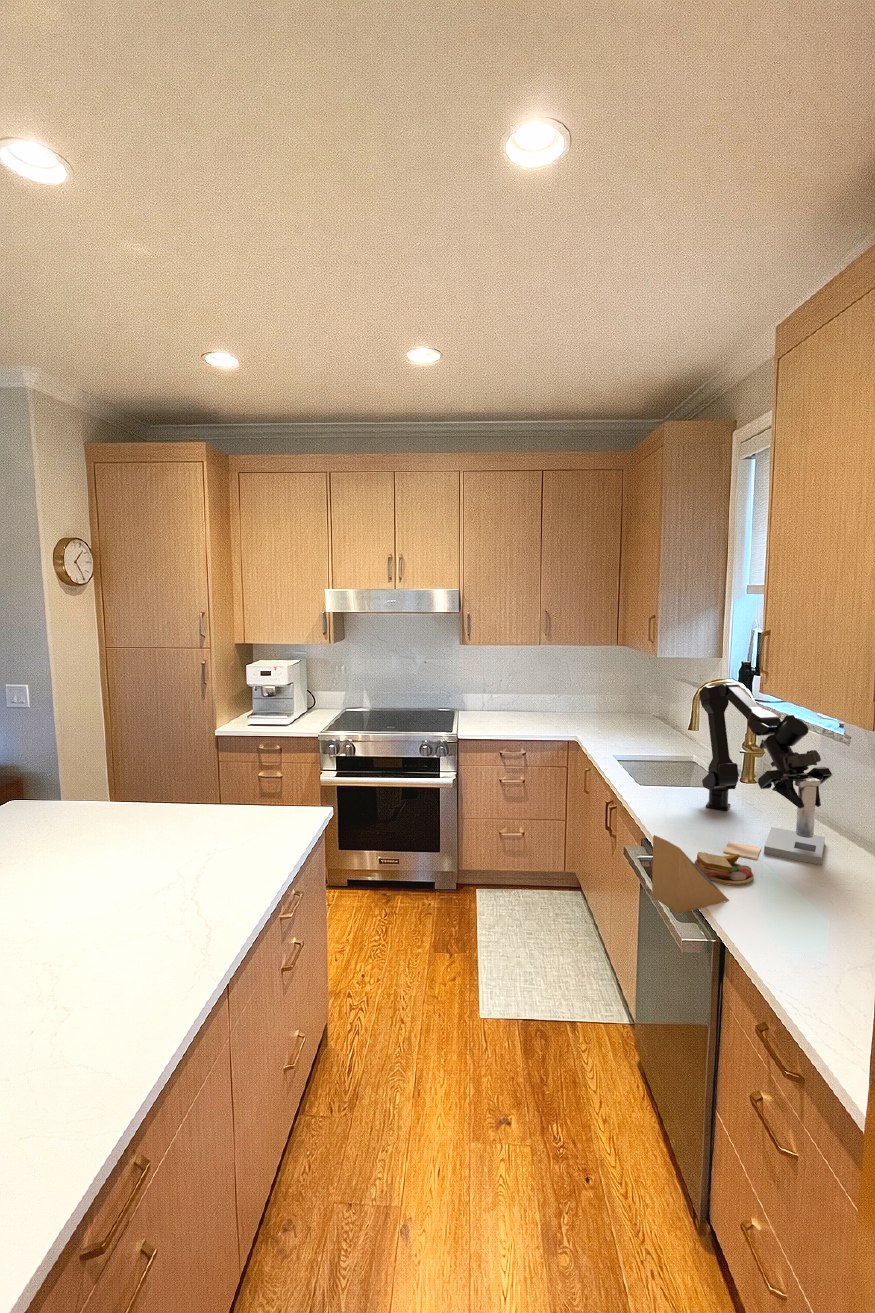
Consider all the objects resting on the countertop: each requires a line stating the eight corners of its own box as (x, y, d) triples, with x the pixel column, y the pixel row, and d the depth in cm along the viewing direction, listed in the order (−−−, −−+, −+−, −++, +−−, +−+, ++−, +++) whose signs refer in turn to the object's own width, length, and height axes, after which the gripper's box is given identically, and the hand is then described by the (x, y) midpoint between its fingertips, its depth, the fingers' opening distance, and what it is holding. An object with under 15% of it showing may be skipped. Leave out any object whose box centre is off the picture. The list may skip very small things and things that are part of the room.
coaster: (728, 842, 170) (728, 841, 170) (761, 849, 165) (761, 847, 165) (723, 852, 163) (723, 851, 163) (756, 859, 159) (756, 858, 159)
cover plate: (771, 833, 176) (771, 827, 176) (824, 843, 168) (824, 836, 168) (763, 853, 163) (764, 846, 163) (821, 865, 155) (821, 857, 155)
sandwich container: (731, 901, 138) (734, 837, 137) (678, 914, 133) (680, 848, 131) (702, 884, 146) (704, 824, 145) (651, 896, 141) (652, 834, 139)
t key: (789, 832, 163) (792, 778, 161) (808, 831, 164) (812, 776, 162) (800, 838, 159) (803, 783, 158) (820, 836, 160) (823, 781, 159)
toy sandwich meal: (758, 890, 143) (759, 871, 143) (696, 883, 147) (697, 864, 147) (748, 867, 155) (749, 849, 155) (691, 861, 159) (691, 844, 159)
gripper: (767, 741, 161) (796, 795, 152) (829, 737, 164) (861, 790, 155) (746, 762, 170) (772, 814, 160) (805, 758, 173) (834, 809, 163)
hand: (810, 807), depth 159 cm, fingers closed on t key, 5 cm apart
